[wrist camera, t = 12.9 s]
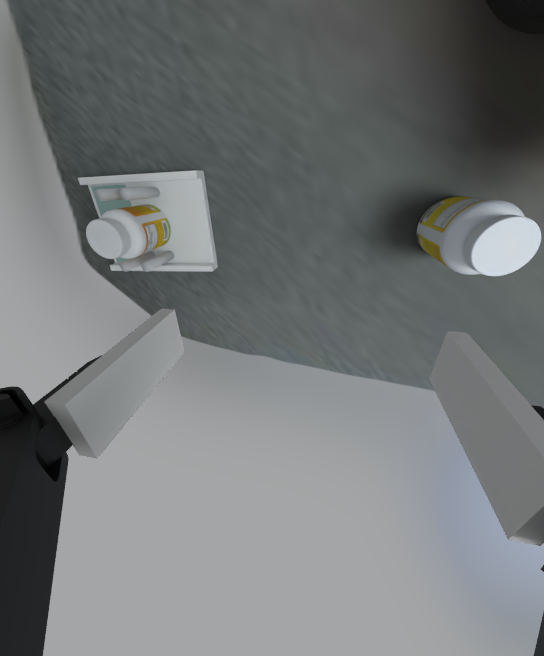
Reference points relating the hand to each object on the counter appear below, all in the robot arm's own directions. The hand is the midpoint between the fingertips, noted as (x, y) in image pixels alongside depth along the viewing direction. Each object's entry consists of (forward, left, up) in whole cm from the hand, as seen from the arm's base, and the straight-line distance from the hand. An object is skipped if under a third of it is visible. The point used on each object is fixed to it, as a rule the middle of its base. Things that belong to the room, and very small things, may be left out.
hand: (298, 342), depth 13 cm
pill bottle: (-2, +15, -25) cm, 29 cm away
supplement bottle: (-3, -21, -23) cm, 32 cm away
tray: (-3, -22, -24) cm, 33 cm away
